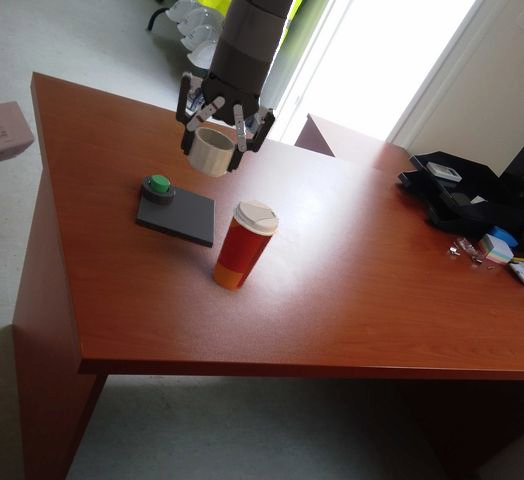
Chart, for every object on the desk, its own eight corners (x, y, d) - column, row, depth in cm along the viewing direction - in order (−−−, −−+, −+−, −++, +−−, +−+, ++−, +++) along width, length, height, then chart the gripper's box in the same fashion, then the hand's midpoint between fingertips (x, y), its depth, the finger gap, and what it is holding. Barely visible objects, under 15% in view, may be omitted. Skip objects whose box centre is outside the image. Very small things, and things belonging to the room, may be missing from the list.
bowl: (184, 168, 67) (193, 139, 64) (187, 149, 71) (196, 121, 68) (225, 183, 69) (235, 156, 66) (225, 164, 73) (235, 138, 70)
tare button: (148, 189, 83) (151, 181, 82) (150, 180, 85) (153, 172, 84) (166, 195, 84) (168, 187, 83) (167, 186, 86) (170, 178, 85)
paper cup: (236, 263, 84) (267, 199, 74) (255, 293, 80) (290, 229, 71) (199, 263, 79) (227, 194, 70) (216, 295, 76) (249, 227, 66)
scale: (131, 222, 79) (135, 208, 77) (142, 180, 89) (145, 166, 87) (211, 248, 84) (217, 235, 82) (213, 205, 94) (218, 192, 92)
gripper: (192, 25, 54) (158, 155, 65) (301, 77, 58) (251, 190, 70) (196, 10, 59) (164, 133, 70) (296, 59, 63) (250, 167, 75)
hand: (208, 161), depth 70 cm, fingers closed on bowl, 6 cm apart
